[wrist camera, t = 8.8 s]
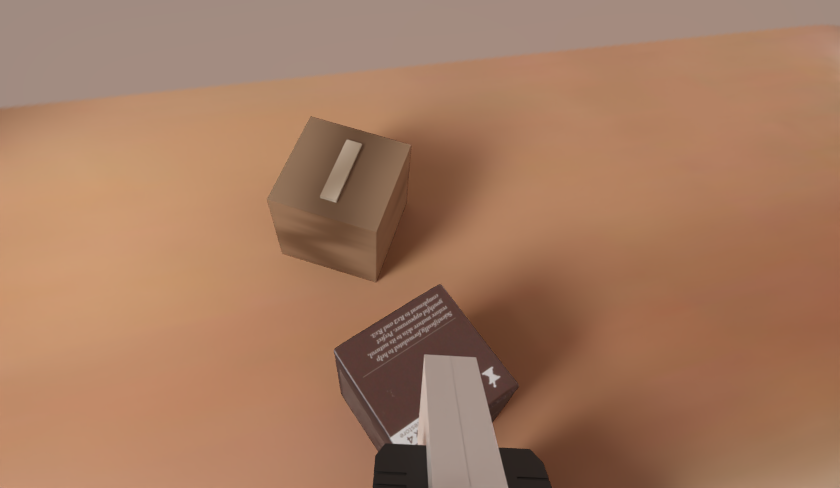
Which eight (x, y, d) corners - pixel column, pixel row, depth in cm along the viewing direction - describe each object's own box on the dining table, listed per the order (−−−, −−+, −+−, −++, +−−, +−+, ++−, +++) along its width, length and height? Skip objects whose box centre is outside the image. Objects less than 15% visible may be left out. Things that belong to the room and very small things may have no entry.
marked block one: (282, 254, 36) (266, 197, 31) (319, 178, 39) (310, 114, 34) (376, 282, 36) (376, 230, 30) (406, 203, 39) (411, 142, 33)
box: (430, 335, 34) (442, 279, 28) (494, 424, 32) (524, 385, 26) (338, 393, 32) (329, 347, 26) (399, 492, 30) (406, 469, 24)
